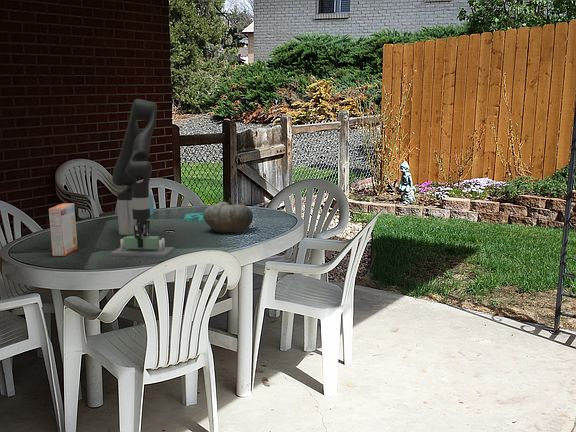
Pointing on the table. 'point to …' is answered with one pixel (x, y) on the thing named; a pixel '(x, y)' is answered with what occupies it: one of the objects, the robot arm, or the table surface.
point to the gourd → (228, 217)
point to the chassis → (143, 251)
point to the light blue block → (151, 204)
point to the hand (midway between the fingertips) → (142, 246)
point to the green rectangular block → (148, 242)
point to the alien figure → (194, 217)
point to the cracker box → (63, 229)
